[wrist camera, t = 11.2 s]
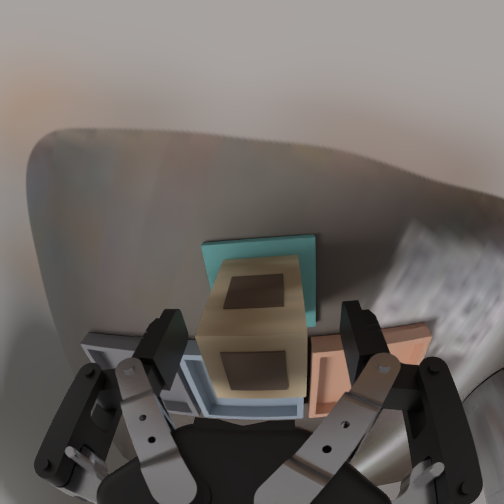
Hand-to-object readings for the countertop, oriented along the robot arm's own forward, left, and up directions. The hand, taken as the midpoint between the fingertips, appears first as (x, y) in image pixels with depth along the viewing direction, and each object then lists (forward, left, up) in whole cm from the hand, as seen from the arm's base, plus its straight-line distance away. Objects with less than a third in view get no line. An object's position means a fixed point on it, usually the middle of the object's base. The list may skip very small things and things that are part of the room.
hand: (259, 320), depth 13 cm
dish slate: (+2, +8, -3) cm, 9 cm away
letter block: (0, 0, -3) cm, 3 cm away
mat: (0, 0, -3) cm, 3 cm away
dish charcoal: (+11, +8, -3) cm, 14 cm away
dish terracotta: (-7, +8, -3) cm, 11 cm away
